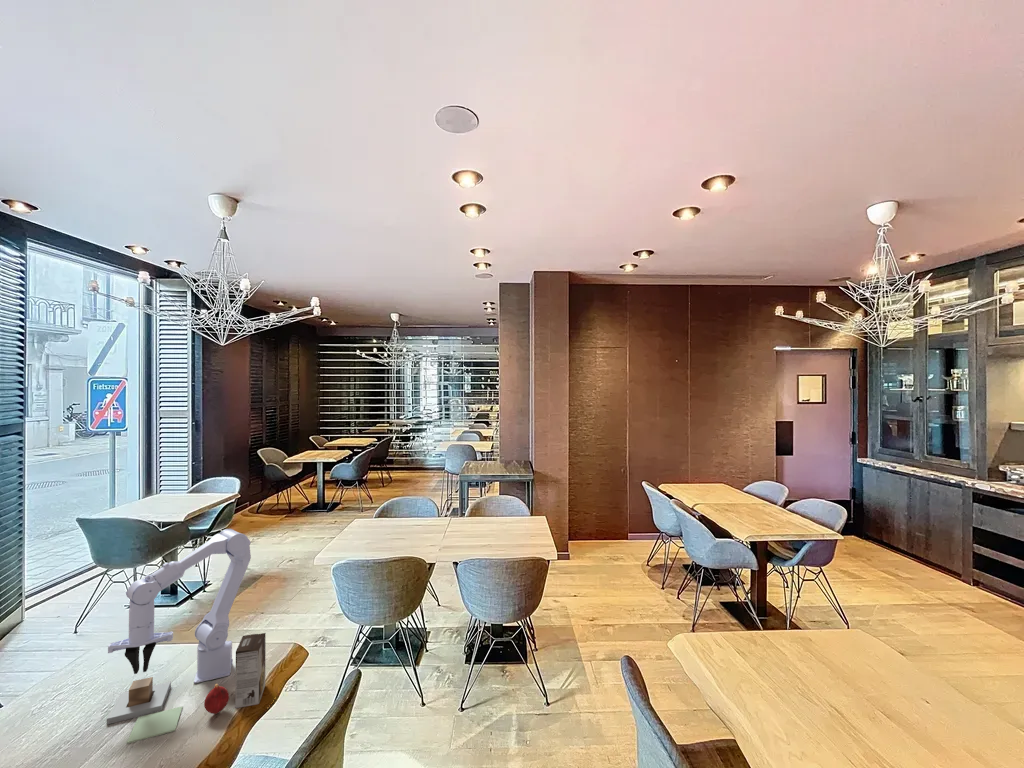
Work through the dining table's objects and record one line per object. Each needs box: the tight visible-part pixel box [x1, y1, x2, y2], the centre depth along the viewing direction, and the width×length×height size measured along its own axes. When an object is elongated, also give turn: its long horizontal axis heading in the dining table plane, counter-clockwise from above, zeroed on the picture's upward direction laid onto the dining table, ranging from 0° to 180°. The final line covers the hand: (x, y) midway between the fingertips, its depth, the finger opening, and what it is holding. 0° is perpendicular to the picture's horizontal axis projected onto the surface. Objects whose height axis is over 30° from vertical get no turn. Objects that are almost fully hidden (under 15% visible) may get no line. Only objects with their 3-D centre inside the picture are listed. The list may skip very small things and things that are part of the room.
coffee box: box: [234, 632, 267, 709], centre depth 136 cm, size 9×6×16 cm
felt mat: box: [126, 706, 183, 744], centre depth 124 cm, size 10×10×1 cm
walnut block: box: [128, 676, 154, 707], centre depth 132 cm, size 4×4×6 cm
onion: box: [203, 683, 230, 715], centre depth 129 cm, size 6×6×8 cm
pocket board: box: [106, 681, 172, 725], centre depth 132 cm, size 12×12×2 cm
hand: (141, 671), depth 133 cm, fingers closed
